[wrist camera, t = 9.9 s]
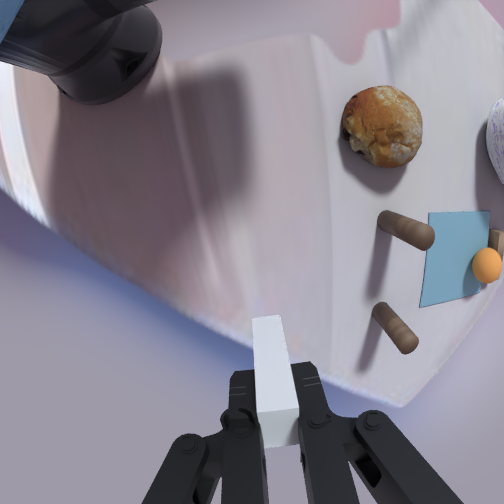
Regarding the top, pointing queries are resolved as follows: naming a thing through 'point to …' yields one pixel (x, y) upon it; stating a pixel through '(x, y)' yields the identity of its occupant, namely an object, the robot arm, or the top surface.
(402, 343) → the post
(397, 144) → the bread roll
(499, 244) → the wall
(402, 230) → the post
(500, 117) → the grey stone bowl
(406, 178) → the top surface
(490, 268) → the ball
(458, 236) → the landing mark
